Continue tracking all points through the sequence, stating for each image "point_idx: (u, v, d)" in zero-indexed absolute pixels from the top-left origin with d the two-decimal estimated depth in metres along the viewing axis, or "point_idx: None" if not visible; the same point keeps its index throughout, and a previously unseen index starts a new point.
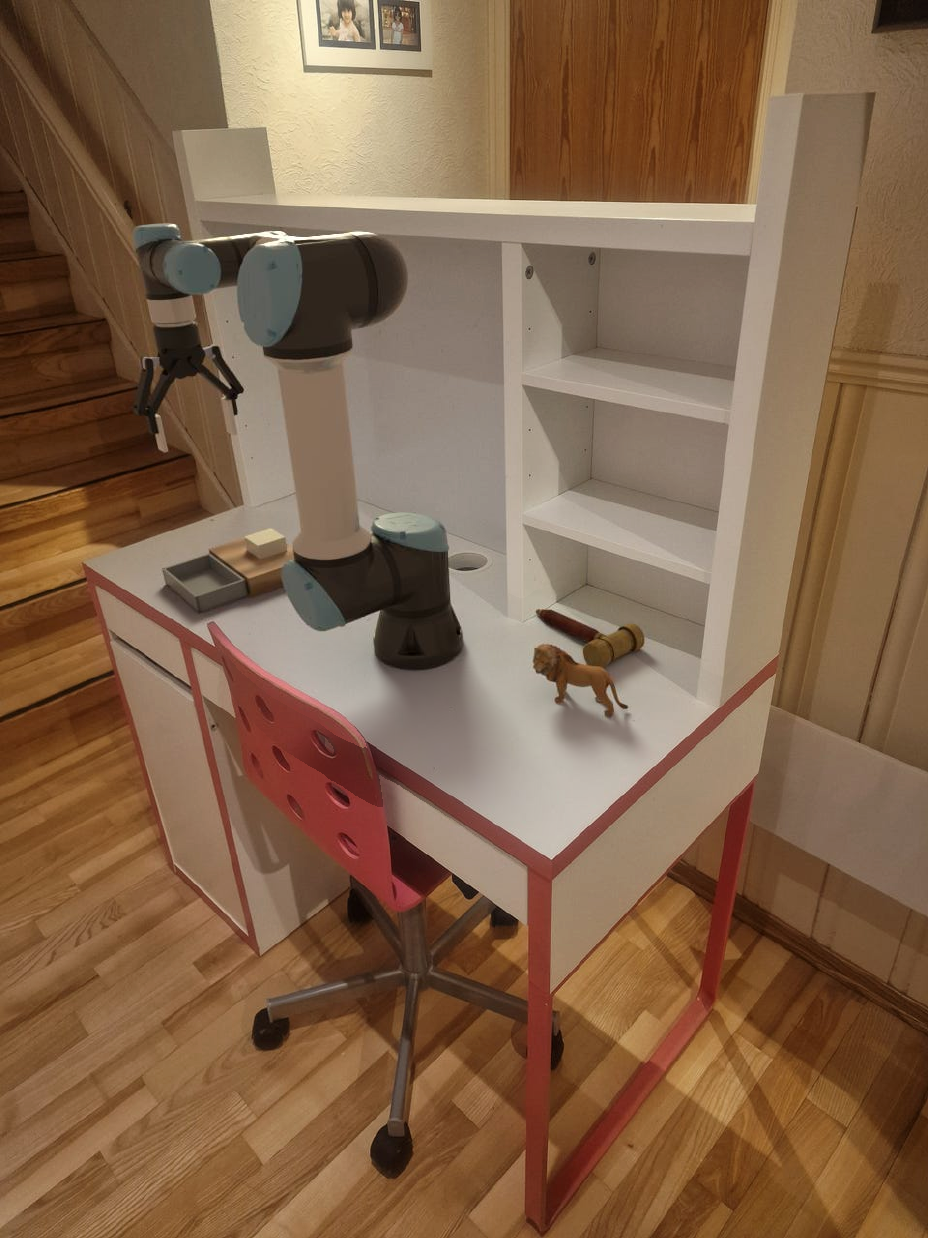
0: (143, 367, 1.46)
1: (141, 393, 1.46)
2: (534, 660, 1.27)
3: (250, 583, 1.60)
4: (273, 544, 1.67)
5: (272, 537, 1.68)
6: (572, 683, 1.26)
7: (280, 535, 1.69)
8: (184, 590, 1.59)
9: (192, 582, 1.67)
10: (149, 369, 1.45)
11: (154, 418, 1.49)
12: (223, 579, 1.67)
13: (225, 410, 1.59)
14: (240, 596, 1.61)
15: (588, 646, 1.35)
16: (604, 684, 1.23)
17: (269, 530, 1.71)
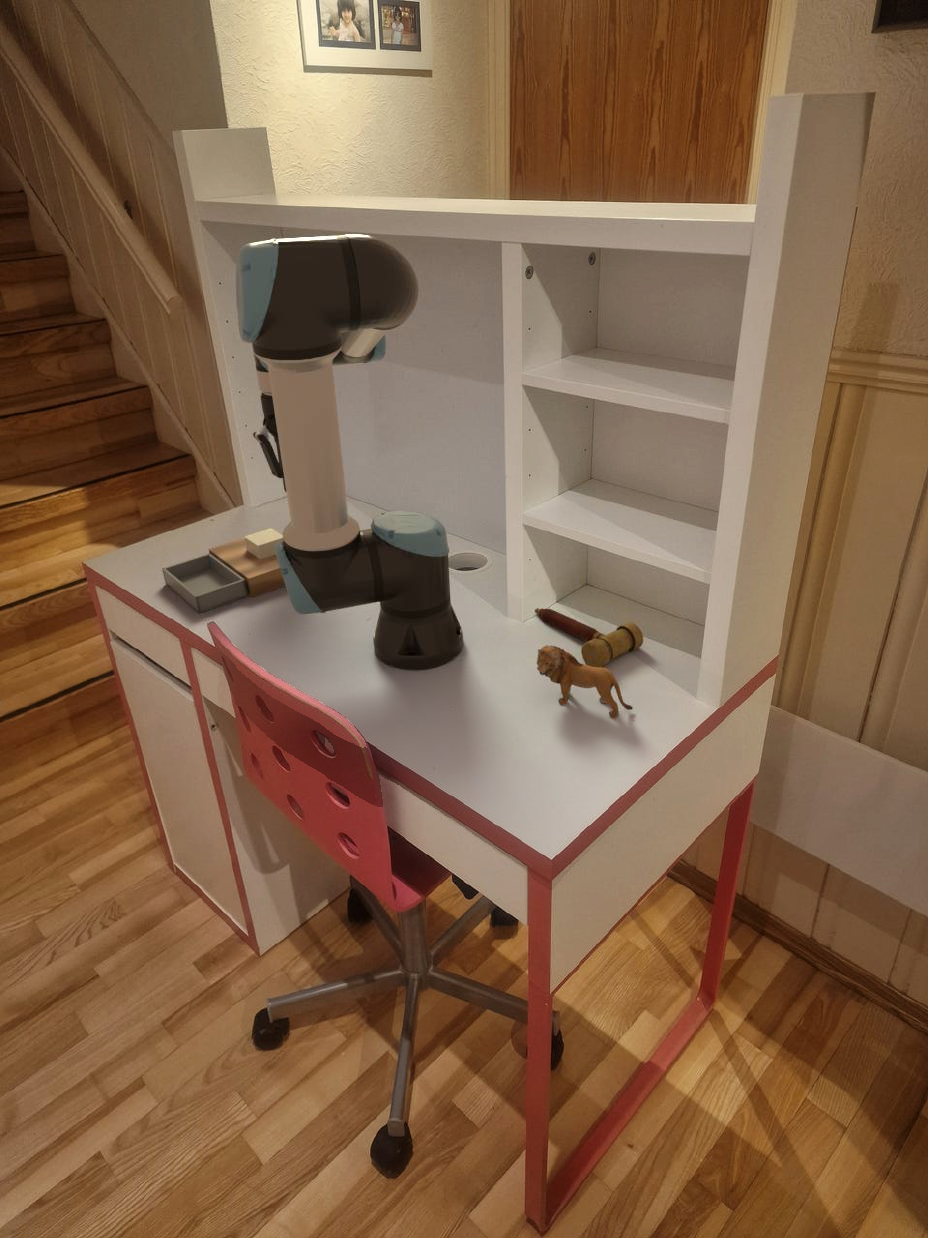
0: (259, 441, 1.61)
1: (271, 462, 1.63)
2: (538, 662, 1.27)
3: (250, 583, 1.60)
4: (273, 544, 1.67)
5: (272, 537, 1.68)
6: (576, 684, 1.26)
7: (280, 535, 1.69)
8: (184, 590, 1.59)
9: (192, 582, 1.67)
10: (265, 442, 1.60)
11: None
12: (223, 579, 1.67)
13: None
14: (240, 596, 1.61)
15: (587, 646, 1.35)
16: (609, 685, 1.22)
17: (269, 530, 1.71)
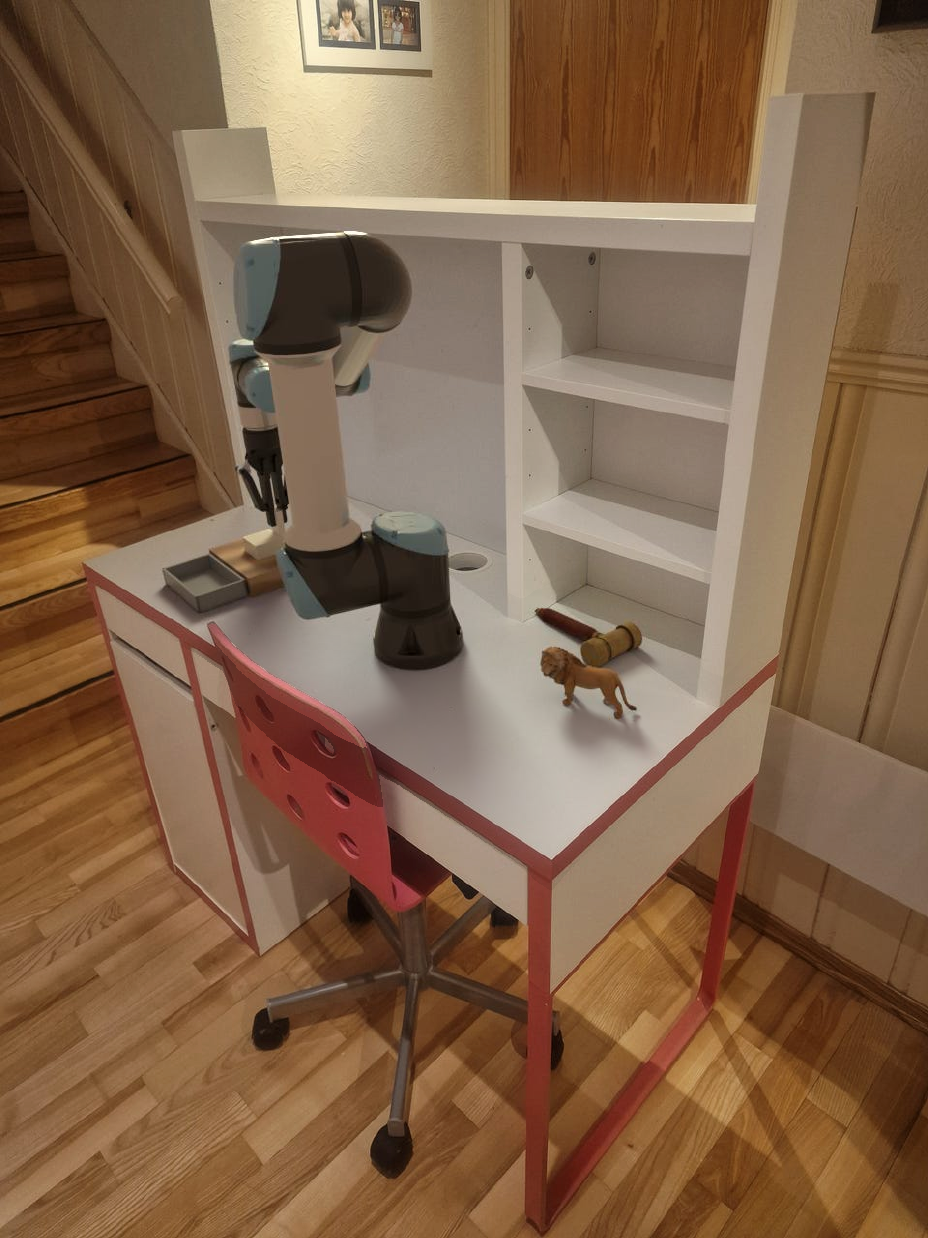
0: (241, 476, 1.61)
1: (254, 496, 1.63)
2: (542, 663, 1.26)
3: (250, 583, 1.60)
4: (271, 545, 1.67)
5: (270, 538, 1.68)
6: (580, 685, 1.25)
7: (278, 536, 1.69)
8: (184, 590, 1.59)
9: (192, 582, 1.67)
10: (247, 477, 1.60)
11: (273, 513, 1.67)
12: (223, 579, 1.67)
13: None
14: (240, 596, 1.61)
15: (585, 645, 1.36)
16: (613, 686, 1.22)
17: (267, 531, 1.71)
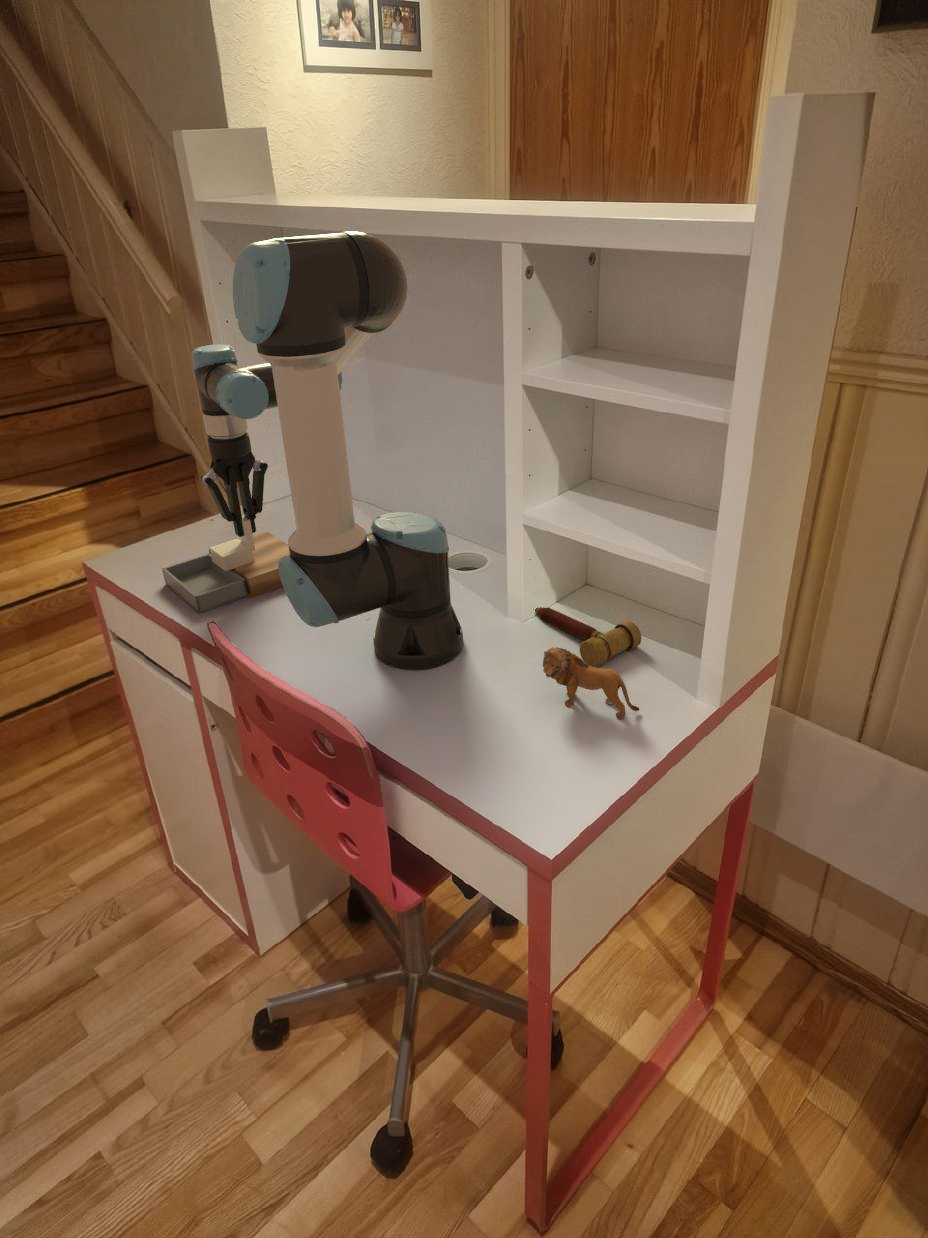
0: (207, 485, 1.57)
1: (220, 506, 1.59)
2: (544, 664, 1.26)
3: (250, 583, 1.60)
4: (238, 555, 1.63)
5: (237, 548, 1.64)
6: (583, 686, 1.25)
7: (246, 546, 1.65)
8: (184, 590, 1.59)
9: (192, 582, 1.67)
10: (213, 486, 1.57)
11: (241, 523, 1.63)
12: (223, 579, 1.67)
13: None
14: (240, 596, 1.61)
15: (585, 644, 1.36)
16: (616, 686, 1.22)
17: (235, 540, 1.67)
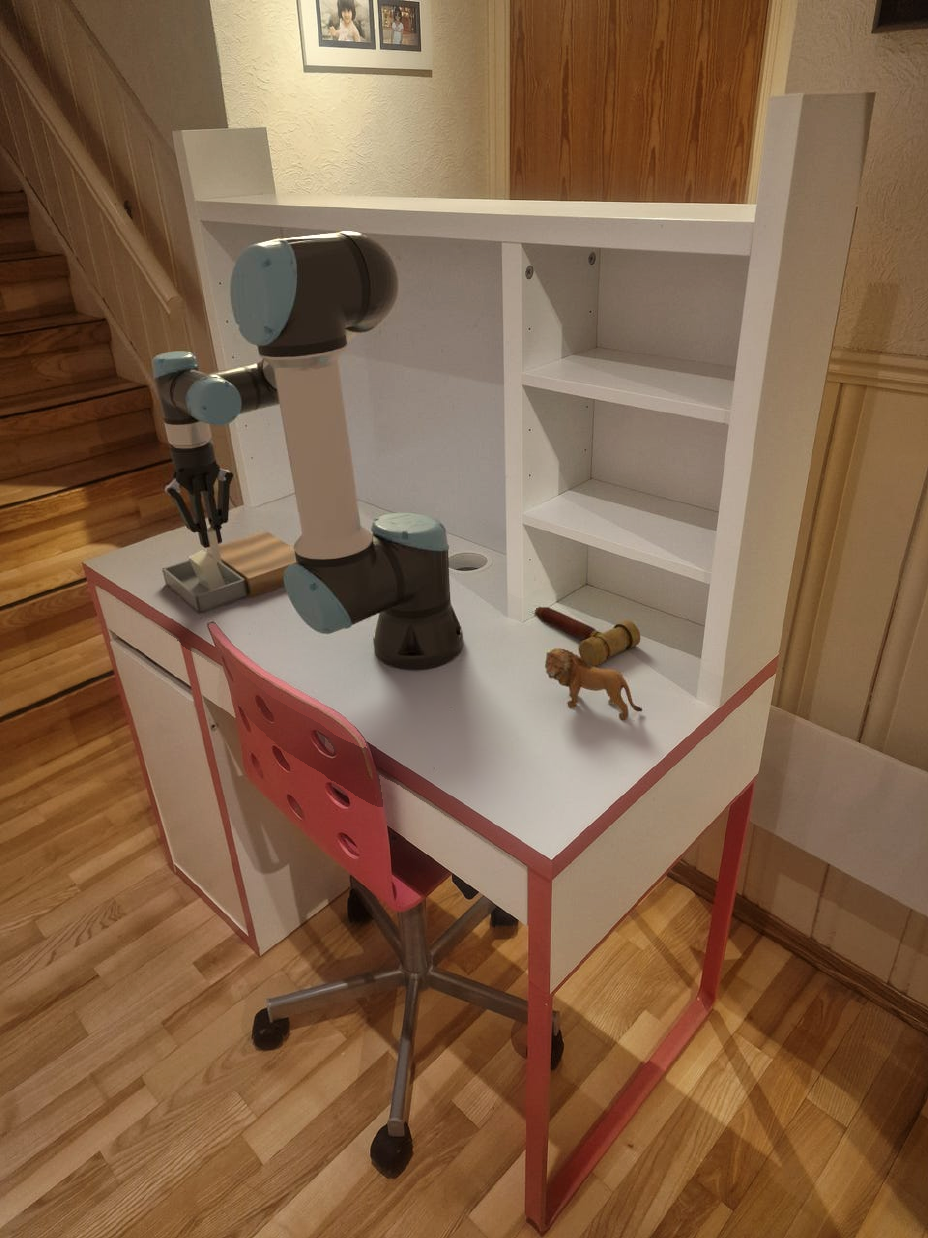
0: (170, 495, 1.54)
1: (184, 516, 1.55)
2: (546, 665, 1.26)
3: (250, 583, 1.60)
4: (209, 577, 1.61)
5: (201, 573, 1.61)
6: (585, 687, 1.25)
7: (198, 566, 1.60)
8: (184, 590, 1.59)
9: (192, 582, 1.67)
10: (176, 496, 1.53)
11: (206, 533, 1.60)
12: (223, 579, 1.67)
13: None
14: (240, 596, 1.61)
15: (584, 644, 1.36)
16: (619, 687, 1.22)
17: (191, 561, 1.63)
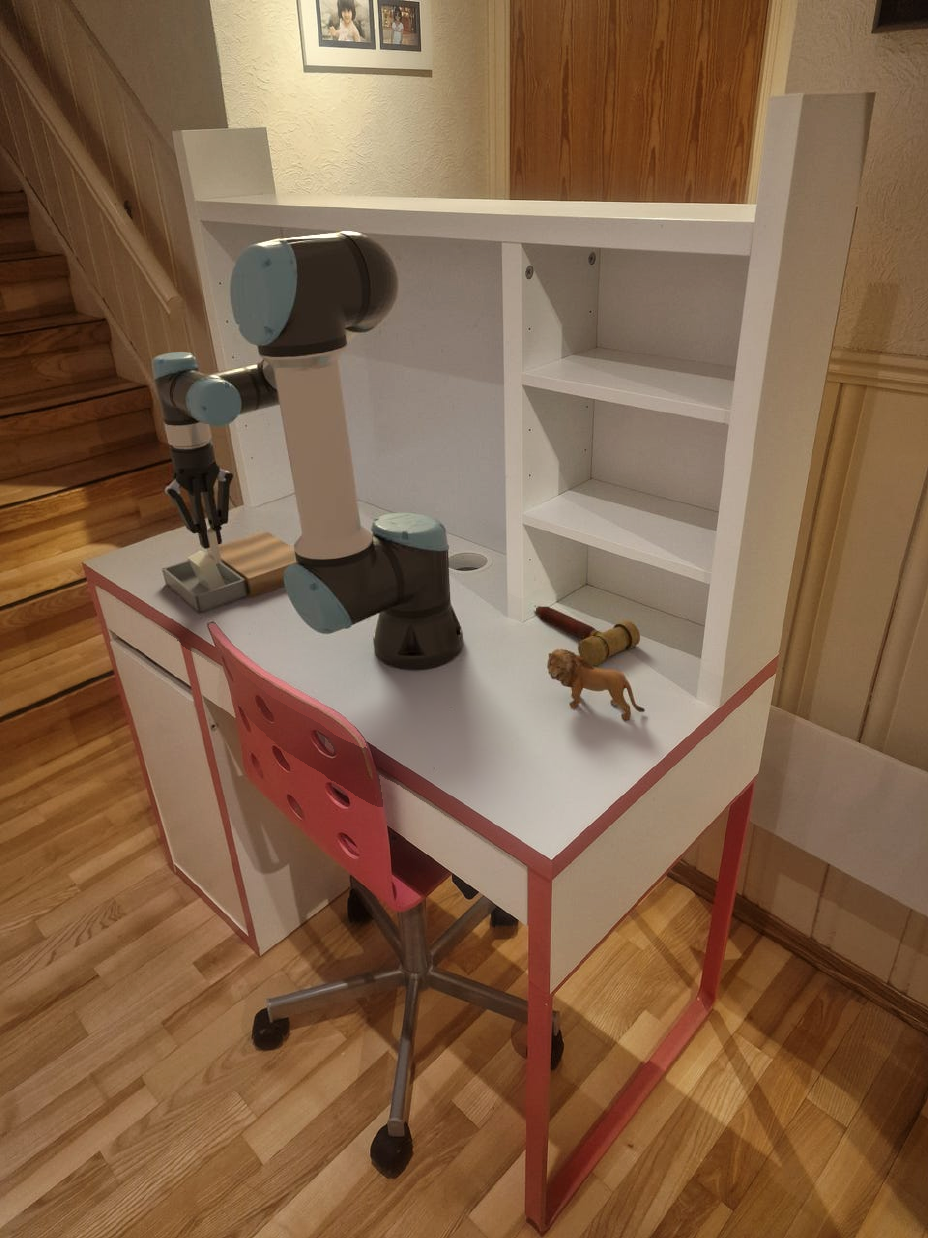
0: (170, 496, 1.53)
1: (184, 517, 1.55)
2: (548, 665, 1.26)
3: (250, 583, 1.60)
4: (209, 577, 1.61)
5: (200, 573, 1.61)
6: (588, 687, 1.25)
7: (198, 566, 1.60)
8: (184, 590, 1.59)
9: (192, 582, 1.67)
10: (176, 497, 1.53)
11: (206, 534, 1.60)
12: (223, 579, 1.67)
13: None
14: (240, 596, 1.61)
15: (583, 643, 1.36)
16: (621, 688, 1.22)
17: (190, 562, 1.63)
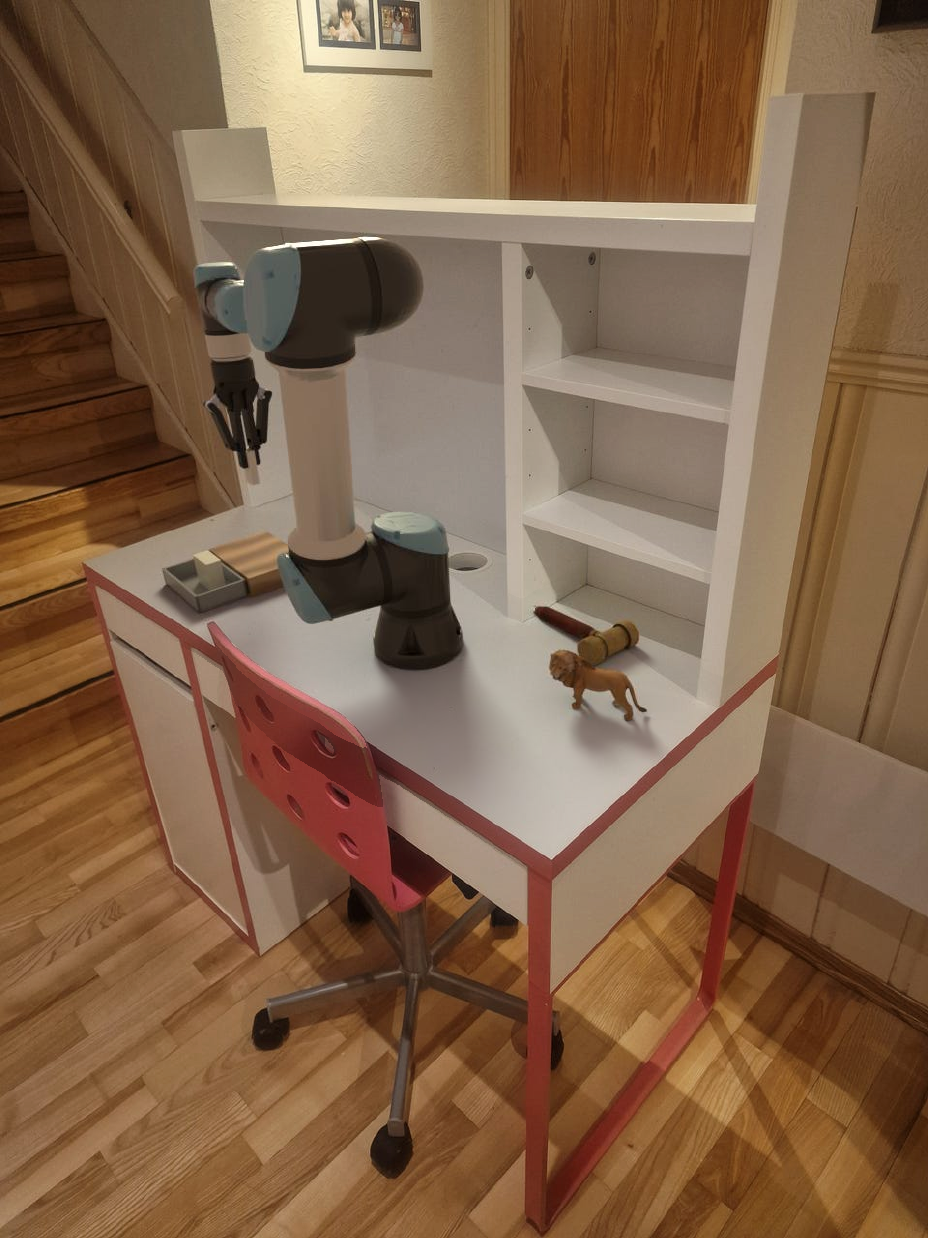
0: (210, 411, 1.52)
1: (223, 434, 1.54)
2: (550, 666, 1.25)
3: (250, 583, 1.60)
4: (212, 576, 1.61)
5: (204, 571, 1.62)
6: (590, 688, 1.25)
7: (203, 564, 1.61)
8: (184, 590, 1.59)
9: (192, 582, 1.67)
10: (216, 412, 1.51)
11: (245, 453, 1.58)
12: None
13: None
14: (240, 596, 1.61)
15: (582, 643, 1.36)
16: (624, 688, 1.22)
17: (195, 560, 1.64)
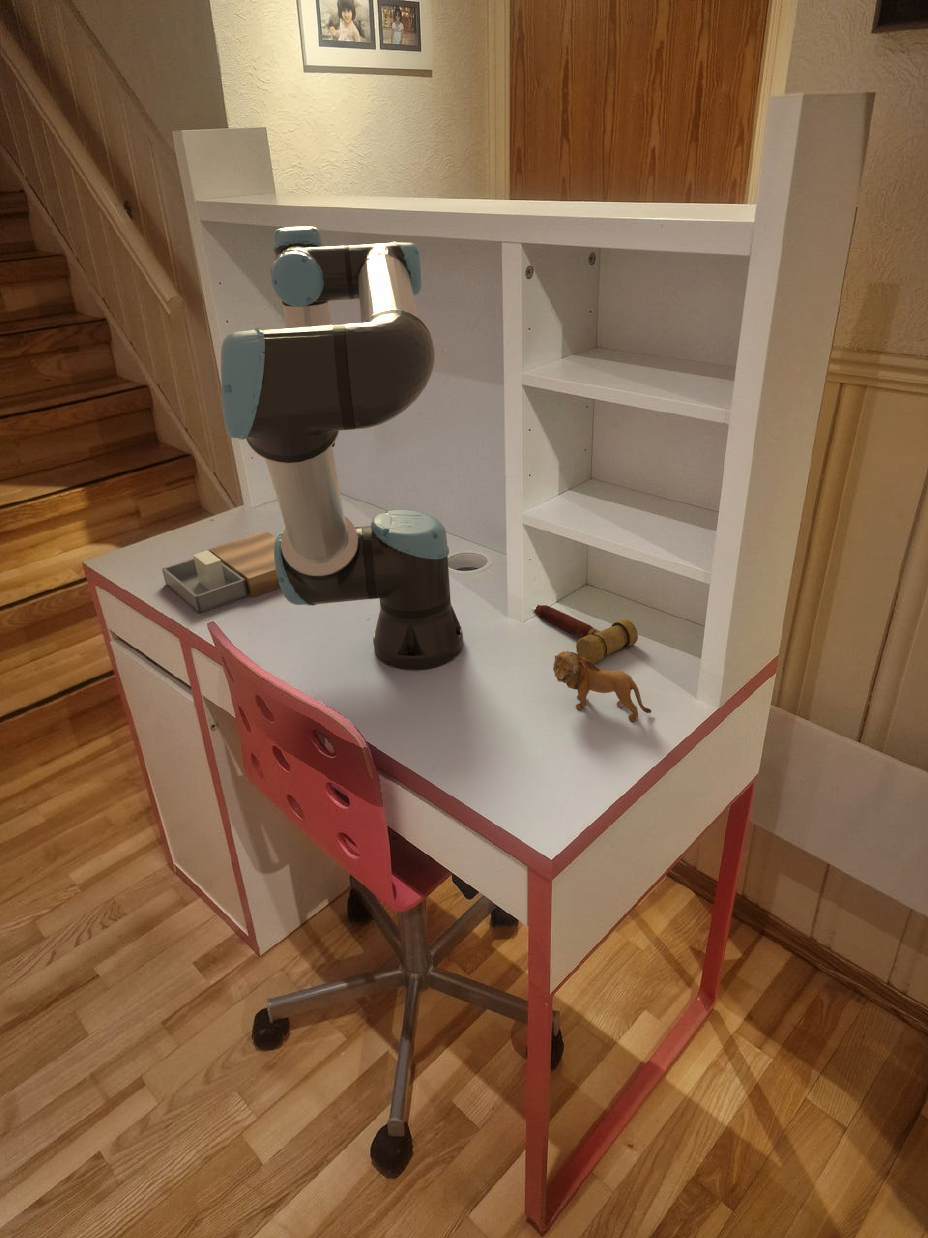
0: None
1: None
2: (554, 668, 1.25)
3: (250, 583, 1.60)
4: (212, 576, 1.61)
5: (204, 571, 1.62)
6: (594, 689, 1.24)
7: (203, 564, 1.61)
8: (184, 590, 1.59)
9: (192, 582, 1.67)
10: None
11: None
12: None
13: None
14: (240, 596, 1.61)
15: (581, 642, 1.36)
16: (628, 689, 1.21)
17: (195, 560, 1.64)
